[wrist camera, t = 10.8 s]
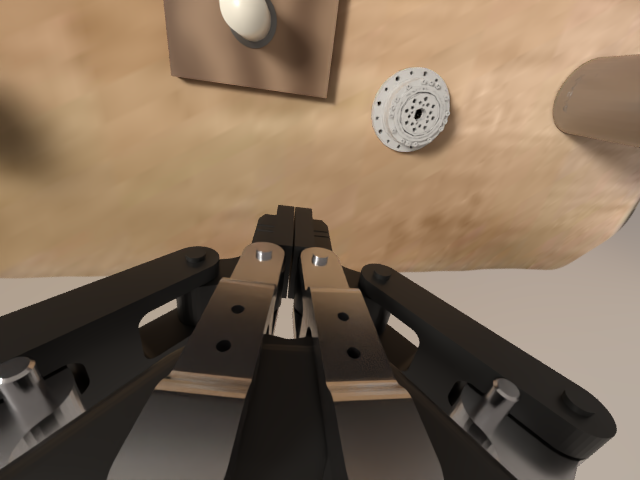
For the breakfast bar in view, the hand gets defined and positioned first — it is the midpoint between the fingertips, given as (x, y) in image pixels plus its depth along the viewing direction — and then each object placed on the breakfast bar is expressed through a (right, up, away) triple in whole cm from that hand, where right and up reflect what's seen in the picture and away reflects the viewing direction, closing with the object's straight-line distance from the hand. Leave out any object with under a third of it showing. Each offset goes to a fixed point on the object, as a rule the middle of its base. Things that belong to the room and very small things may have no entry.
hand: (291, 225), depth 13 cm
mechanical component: (+13, +17, +25) cm, 33 cm away
